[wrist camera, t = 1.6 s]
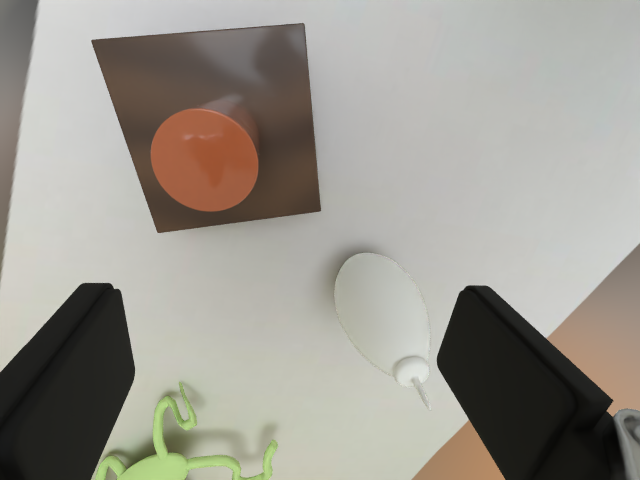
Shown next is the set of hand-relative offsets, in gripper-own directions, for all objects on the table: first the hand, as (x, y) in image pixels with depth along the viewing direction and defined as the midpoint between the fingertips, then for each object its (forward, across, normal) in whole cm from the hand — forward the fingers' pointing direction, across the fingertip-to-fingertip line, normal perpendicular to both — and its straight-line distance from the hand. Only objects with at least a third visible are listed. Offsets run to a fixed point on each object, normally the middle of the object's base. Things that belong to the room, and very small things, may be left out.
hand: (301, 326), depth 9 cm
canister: (+16, +4, -2) cm, 16 cm away
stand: (+24, +4, -2) cm, 24 cm away
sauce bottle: (+24, -10, +12) cm, 28 cm away
